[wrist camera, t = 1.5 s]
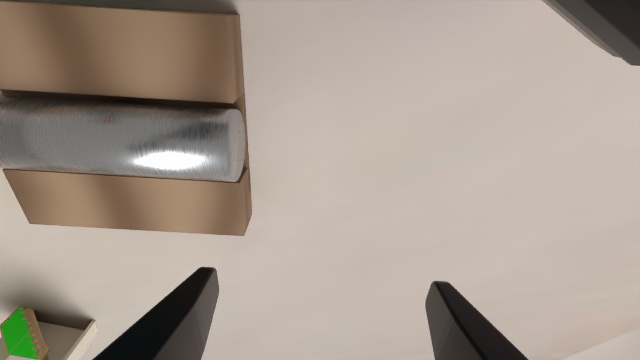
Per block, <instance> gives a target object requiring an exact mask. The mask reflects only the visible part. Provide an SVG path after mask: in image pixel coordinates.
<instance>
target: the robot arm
mask: <svg viewBox="0 0 640 360" xmlns="http://www.w3.org/2000/svg"><path fill="white" fill-rule="evenodd" d="M542 1H543V2H545V3H546V4H547V5H548V6H549V7H551V8H552V9H553V10H554V11H555V12H557V13H558V14H559V15H560V16H561V17H563V18H564V19H565V20H566V21H567V22H569V23H570V24H571V25H572V26H573V27H575V28H576V29H577V30H578V31H579V32H581V33H582V34H583V35H584V36H585V37H587V38H588V39H589V40H590V41H591V42H593V43H594V44H595V45H597V46H598V47H600V48H601V49H603V50H605V51H606V52H608V53H609V54H611V55H612V56H616V57H620V58H622V59H623V60H624V61H626V62H627V63H628V64H630V65H637V66H640V0H542ZM218 294H219V284H218V278H217V271H216V269H215V268H212V267H201V268H199V269H198V270H196V271H195V272H194V273H193V274H192V275H191V276H189V277H188V278H187V279H186V280H185V281H184V282H182V283H181V284H180V285H179V286H178V287H177V288H175V289H174V290H173V291H172V292H171V293H170V294H168V295H167V296H166V297H165V298H164V299H163V300H161V301H160V302H159V303H158V304H157V305H156V306H154V307H153V308H152V309H151V310H150V311H149V312H147V313H146V314H145V315H144V316H143V317H142V318H140V319H139V320H138V321H137V322H136V323H135V324H133V325H132V326H131V327H130V328H129V329H128V330H126V331H125V332H124V333H123V334H122V335H121V336H119V337H118V338H117V339H116V340H115V341H114V342H112V343H111V344H110V345H109V346H108V347H107V348H105V349H104V350H103V351H102V352H101V353H100V354H98V355H97V356H96V357H95V358H94V359H93V360H201V358H202V355H203V352H204V349H205V345H206V341H207V338H208V334H209V330H210V326H211V322H212V318H213V314H214V310H215V307H216V303H217V299H218ZM425 305H426V313H427V318H428V324H429V329H430V335H431V340H432V346H433V351H434V357H435V360H528V359H527V358H526V357H525V356H524V355H523V354H522V353H521V352H520V351H519V350H518V349H517V348H516V347H515V346H514V345H513V344H512V343H511V342H510V341H509V340H508V339H507V338H506V337H505V336H504V335H503V334H502V333H501V332H499V331H498V330H497V329H496V328H495V327H494V326H493V325H492V324H491V323H490V322H489V321H488V320H487V319H486V318H485V317H484V316H483V315H482V314H481V313H480V312H479V311H478V310H477V309H476V308H475V307H474V306H473V305H472V304H471V303H470V302H468V301H467V300H466V299H465V298H464V297H463V296H462V295H461V294H460V293H459V292H458V291H457V290H456V289H455V288H454V287H453V286H452V285H451V284H450V283H448V282H446V281H433V282H432V284H431V286H430V289H429V292H428V295H427V298H426V304H425Z"/></svg>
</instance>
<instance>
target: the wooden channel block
mask: <svg viewBox="0 0 640 360" xmlns="http://www.w3.org/2000/svg"><path fill="white" fill-rule="evenodd" d="M0 89H2V92H3V94H4V95H10V96H26V97H42V98H59V99H75V100H91V101H107V102H124V103H140V104H156V105H173V106H189V107H205V108H222V109H237V110H239V111H240V112H241V115H242V117H243V121H244V127H245V157H244V164H243V168H242V172H241V175H240V177H239V179H238V180H237V181H236V182H226V181H209V180H192V179H175V178H158V177H141V176H124V175H107V174H90V173H73V172H56V171H39V170H22V169H5V168H4V169H2V170H3V172H4V174H5V176H6V178H7V180H8V182H9V184H10V186H11V188H12V190H13V192H14V194H15V196H16V198H17V200H18V202H19V204H20V206H21V208H22V210H23V212H24V214H25V216H26V218H27V220H28V221H29V223H30V224H42V225H59V226H77V227H94V228H112V229H129V230H147V231H165V232H182V233H200V234H217V235H235V236H244V235H245V232H246V229H247V227H248V224H249V221H250V218H251V216H252V204H251V188H250V172H249V156H248V140H247V125H246V109H245V93H244V77H243V61H242V45H241V29H240V15H232V14H217V13H202V12H186V11H171V10H155V9H140V8H124V7H109V6H93V5H78V4H62V3H47V2H31V1H16V0H0Z"/></svg>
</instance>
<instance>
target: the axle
mask: <svg viewBox="0 0 640 360" xmlns="http://www.w3.org/2000/svg"><path fill="white" fill-rule="evenodd" d="M244 157H245V127H244V121H243V117H242V115H241V112H240V111H239V110H237V109H222V108H205V107H189V106H173V105H156V104H140V103H124V102H107V101H91V100H75V99H59V98H42V97H26V96H10V95H0V168H5V169H22V170H39V171H56V172H73V173H90V174H107V175H124V176H141V177H158V178H175V179H192V180H209V181H226V182H236V181H237V180H238V179H239V177H240V175H241V172H242V168H243V164H244Z"/></svg>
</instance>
